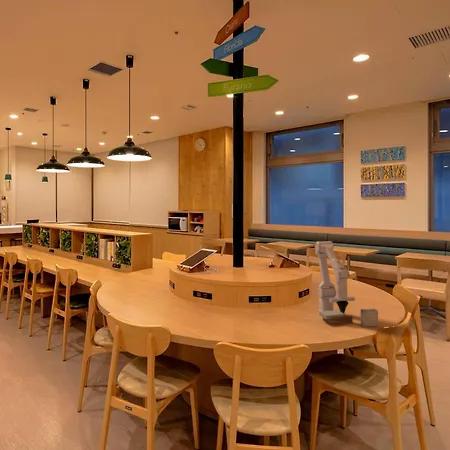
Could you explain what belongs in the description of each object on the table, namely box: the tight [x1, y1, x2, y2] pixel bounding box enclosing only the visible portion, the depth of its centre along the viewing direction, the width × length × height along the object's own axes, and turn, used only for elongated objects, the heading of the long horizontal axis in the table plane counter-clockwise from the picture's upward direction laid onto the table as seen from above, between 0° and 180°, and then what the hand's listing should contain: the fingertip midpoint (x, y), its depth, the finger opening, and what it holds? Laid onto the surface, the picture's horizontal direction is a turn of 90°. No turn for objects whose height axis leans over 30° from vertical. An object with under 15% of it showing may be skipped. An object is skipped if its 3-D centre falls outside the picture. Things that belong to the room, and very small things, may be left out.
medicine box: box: [360, 308, 379, 328], centre depth 195 cm, size 8×4×9 cm, turn 92°
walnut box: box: [322, 312, 353, 326], centre depth 203 cm, size 10×13×4 cm
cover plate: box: [318, 309, 346, 319], centre depth 202 cm, size 8×11×2 cm
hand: (342, 314), depth 204 cm, fingers closed
